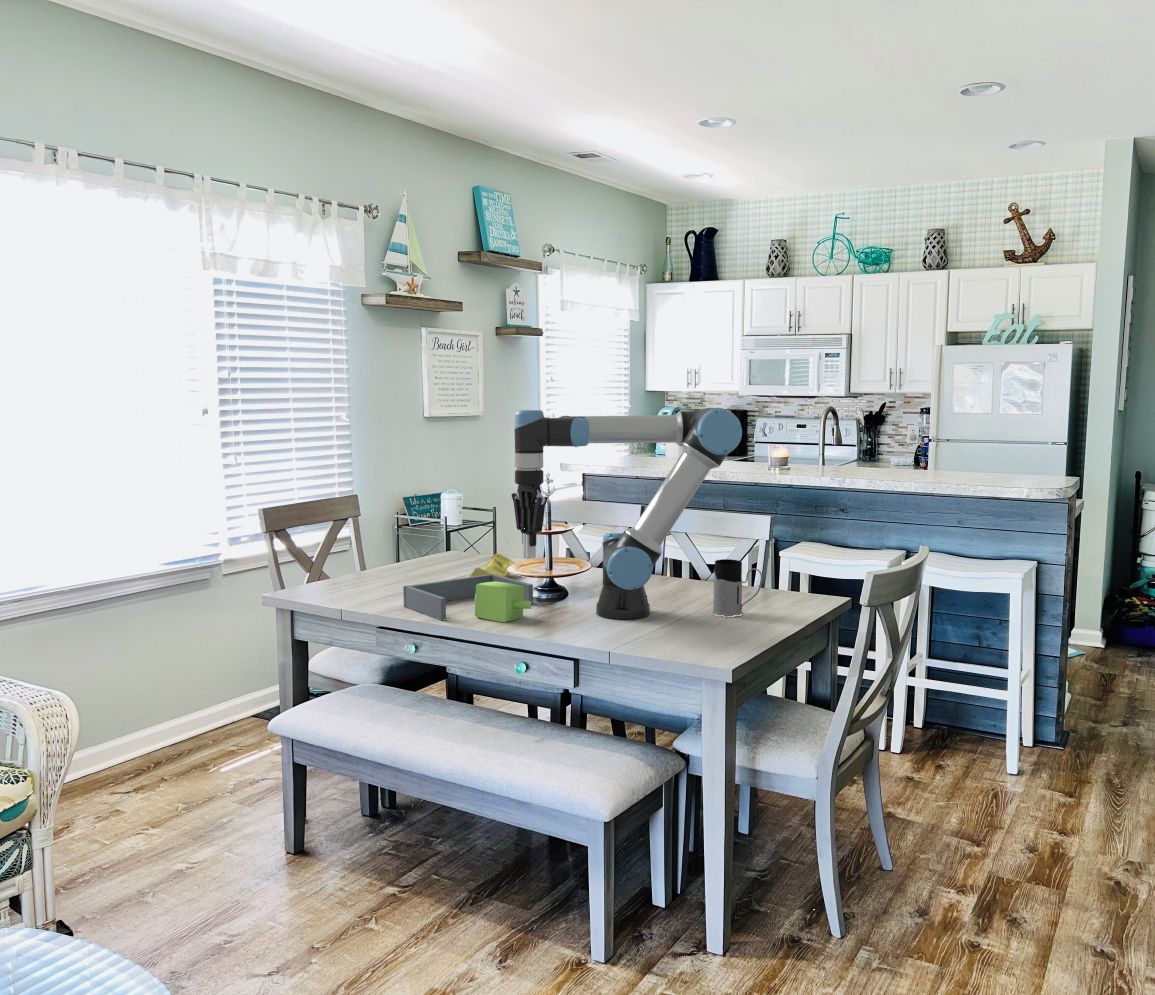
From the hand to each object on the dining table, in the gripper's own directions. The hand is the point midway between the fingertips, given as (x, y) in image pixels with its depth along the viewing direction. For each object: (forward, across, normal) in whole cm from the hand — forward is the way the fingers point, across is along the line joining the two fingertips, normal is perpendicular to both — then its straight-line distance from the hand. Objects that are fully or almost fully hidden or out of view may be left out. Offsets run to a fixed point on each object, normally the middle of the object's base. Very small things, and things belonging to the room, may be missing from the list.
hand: (529, 557), depth 249 cm
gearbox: (+19, +12, 0) cm, 22 cm away
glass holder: (+19, -26, -53) cm, 62 cm away
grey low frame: (+18, +30, 0) cm, 35 cm away
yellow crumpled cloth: (+19, +57, -27) cm, 66 cm away
